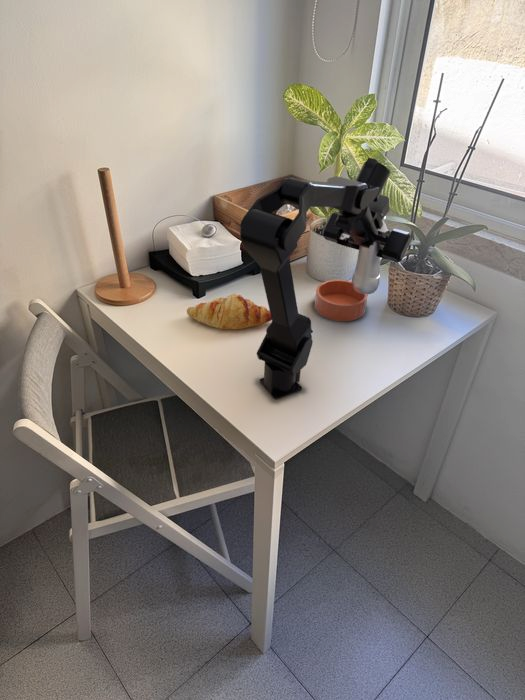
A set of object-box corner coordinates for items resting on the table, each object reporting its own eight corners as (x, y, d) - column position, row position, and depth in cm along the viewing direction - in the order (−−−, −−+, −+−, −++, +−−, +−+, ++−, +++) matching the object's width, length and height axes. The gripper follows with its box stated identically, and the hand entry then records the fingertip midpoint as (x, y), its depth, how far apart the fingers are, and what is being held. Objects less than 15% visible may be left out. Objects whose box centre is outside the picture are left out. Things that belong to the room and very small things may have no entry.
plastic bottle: (370, 283, 125) (385, 203, 114) (382, 296, 120) (398, 214, 108) (346, 285, 124) (358, 205, 112) (356, 299, 119) (370, 216, 107)
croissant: (186, 336, 122) (181, 320, 115) (190, 300, 126) (186, 282, 119) (274, 339, 121) (275, 323, 114) (276, 303, 125) (276, 285, 118)
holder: (334, 326, 121) (336, 310, 119) (304, 301, 130) (306, 286, 127) (375, 313, 127) (378, 298, 124) (344, 290, 135) (346, 275, 133)
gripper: (418, 196, 100) (426, 232, 114) (335, 175, 108) (352, 211, 122) (394, 246, 99) (405, 276, 113) (312, 221, 108) (332, 252, 121)
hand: (373, 252), depth 117 cm, fingers closed on plastic bottle, 6 cm apart
